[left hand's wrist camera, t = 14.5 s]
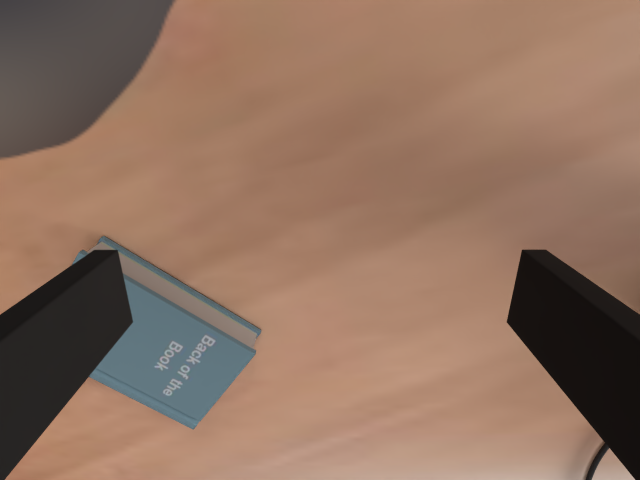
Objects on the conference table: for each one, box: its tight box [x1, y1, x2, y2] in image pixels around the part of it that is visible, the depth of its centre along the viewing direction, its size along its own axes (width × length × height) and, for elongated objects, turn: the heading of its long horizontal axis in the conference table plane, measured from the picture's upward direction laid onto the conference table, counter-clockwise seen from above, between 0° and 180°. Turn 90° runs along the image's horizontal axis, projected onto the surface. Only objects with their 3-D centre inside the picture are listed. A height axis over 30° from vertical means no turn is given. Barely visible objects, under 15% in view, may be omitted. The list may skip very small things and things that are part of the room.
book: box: [72, 236, 261, 429], centre depth 48 cm, size 23×16×5 cm
